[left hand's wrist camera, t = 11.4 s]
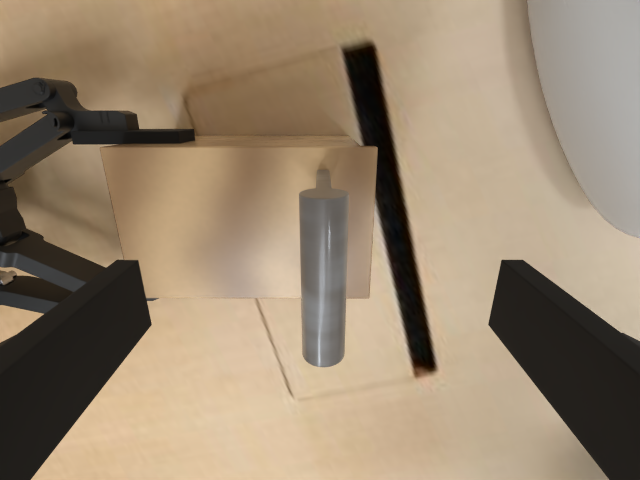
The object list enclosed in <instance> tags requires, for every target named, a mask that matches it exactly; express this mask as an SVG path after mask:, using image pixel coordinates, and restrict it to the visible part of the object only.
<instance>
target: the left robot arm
mask: <svg viewBox="0 0 640 480" xmlns="http://www.w3.org/2000/svg"><path fill="white" fill-rule="evenodd" d="M151 325H152V324H151V319H150V315H149V310H148V305H147V300H146V295H145V290H144V285H143V280H142V276H141V271H140V266H139V261H138V260H116V261H115V262H114V263H112V264H111V265H110V266H108V267H107V268H106V269H104V270H103V271H102V272H100V273H99V274H98V275H96V276H95V277H94V278H92V279H91V280H90V281H88V282H87V283H85V284H84V285H83V286H81V287H80V288H79V289H77V290H76V291H75V292H73V293H72V294H71V295H69V296H68V297H67V298H65V299H64V300H63V301H61V302H60V303H59V304H57V305H56V306H55V307H53V308H52V309H51V310H49V311H48V312H46V313H45V314H44V315H42V316H41V317H40V318H38V319H37V320H36V321H34V322H33V323H32V324H30V325H29V326H28V327H26V328H25V329H24V330H22V331H21V332H20V333H18V334H17V335H15V336H13V337H11V338H9V339H7V340H5V341H3V342H1V343H0V480H31V478H32V477H33V476H34V475H35V473H36V472H37V471H38V469H39V468H40V467H41V466H42V464H43V463H44V462H45V460H46V459H47V458H48V457H49V455H50V454H51V453H52V451H53V450H54V449H55V448H56V446H57V445H58V444H59V443H60V441H61V440H62V439H63V437H64V436H65V435H66V434H67V432H68V431H69V430H70V428H71V427H72V426H73V425H74V423H75V422H76V421H77V419H78V418H79V417H80V416H81V414H82V413H83V412H84V411H85V409H86V408H87V407H88V405H89V404H90V403H91V402H92V400H93V399H94V398H95V396H96V395H97V394H98V393H99V391H100V390H101V389H102V387H103V386H104V385H105V384H106V382H107V381H108V380H109V379H110V377H111V376H112V375H113V373H114V372H115V371H116V370H117V368H118V367H119V366H120V364H121V363H122V362H123V361H124V359H125V358H126V357H127V355H128V354H129V353H130V352H131V350H132V349H133V348H134V347H135V345H136V344H137V343H138V341H139V340H140V339H141V338H142V336H143V335H144V334H145V332H146V331H147V330H148V329H149V327H150V326H151ZM488 325H489V326H490V327H491V329H492V330H493V331H494V332H495V334H496V335H497V336H498V338H499V339H500V340H501V341H502V343H503V344H504V345H505V347H506V348H507V349H508V350H509V352H510V353H511V354H512V355H513V357H514V358H515V359H516V361H517V362H518V363H519V364H520V366H521V367H522V368H523V370H524V371H525V372H526V373H527V375H528V376H529V377H530V379H531V380H532V381H533V382H534V384H535V385H536V386H537V387H538V389H539V390H540V391H541V393H542V394H543V395H544V396H545V398H546V399H547V400H548V402H549V403H550V404H551V405H552V407H553V408H554V409H555V411H556V412H557V413H558V414H559V416H560V417H561V418H562V419H563V421H564V422H565V423H566V425H567V426H568V427H569V428H570V430H571V431H572V432H573V434H574V435H575V436H576V437H577V439H578V440H579V441H580V443H581V444H582V445H583V446H584V448H585V449H586V450H587V451H588V453H589V454H590V455H591V457H592V458H593V459H594V460H595V462H596V463H597V464H598V466H599V467H600V468H601V469H602V471H603V472H604V473H605V475H606V476H607V477H608V478H609V480H640V341H638V340H636V339H634V338H632V337H630V336H628V335H626V334H624V333H620V332H619V331H618V330H616V329H615V328H614V327H612V326H611V325H610V324H608V323H607V322H606V321H604V320H603V319H602V318H600V317H599V316H598V315H596V314H595V313H594V312H592V311H591V310H589V309H588V308H587V307H585V306H584V305H583V304H581V303H580V302H579V301H577V300H576V299H575V298H573V297H572V296H571V295H569V294H568V293H567V292H565V291H564V290H563V289H561V288H560V287H559V286H557V285H556V284H555V283H553V282H552V281H550V280H549V279H548V278H546V277H545V276H544V275H542V274H541V273H540V272H538V271H537V270H536V269H534V268H533V267H532V266H530V265H529V264H528V263H526V262H525V261H524V260H502V261H501V266H500V271H499V276H498V280H497V285H496V290H495V295H494V300H493V305H492V310H491V314H490V319H489V324H488Z"/></svg>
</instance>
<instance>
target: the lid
mask: <svg viewBox="0 0 640 480" xmlns="http://www.w3.org/2000/svg"><path fill="white" fill-rule="evenodd" d="M100 151H101V156H102V160H103V165H104V170H105V174H106V179H107V184H108V188H109V193H110V197H111V202H112V207H113V211H114V216H115V220H116V225H117V230H118V234H119V239H120V243H121V248H122V253H123V257H124V260H138V261H139V266H140V271H141V276H142V280H143V285H144V290H145V295H146V298H301V310H302V354H303V357H304V359H305V360H306V361H307V362H308V363H309V364H311V365H314V366H317V367H330V366H333V365H336V364H338V363H339V362H340V361H341V360H342V359H343V357H344V350H345V316H346V298H369V293H370V275H371V257H372V240H373V222H374V204H375V186H376V169H377V151H378V148H377V147H376V146H106V147H100Z"/></svg>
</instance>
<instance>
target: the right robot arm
mask: <svg viewBox="0 0 640 480" xmlns="http://www.w3.org/2000/svg"><path fill="white" fill-rule="evenodd" d="M76 97H77V90H76V88H75V86H74V85H73V84H72V83H70V82H68V81H61V80H53V79H44V78H32V79H29V80H25V81H22V82H19V83H16V84H12V85H9V86H6V87H2V88H0V122H3V121H6V120H9V119H13V118H16V117H20V116H23V115H26V114H30V113H33V112H37V111H40V110H43V109H47V110H48V111H43V112H42V113H43V114H47V115H46V116H45V117H43V118H42V119H40V120H39V121H37V122H36V123H34V124H33V125H31V126H30V127H28V128H27V129H25V130H24V131H22V132H21V133H19V134H18V135H16V136H15V137H13V138H12V139H10V140H9V141H7V142H6V143H4V144H3V145H1V146H0V267H15V268H17V269H20V270H22V271H25V272H27V273H29V274H32V275H34V276H37V277H39V278H36V277H31V276H17V274H16V272H15V271H9V272H6V271H0V305H6V306H10V307H15V308H20V309H25V310H30V311H34V312H39V313H44V314H45V313H46V312H48V311H49V310H51V309H52V308H53V307H55V306H56V305H57V304H59V303H60V302H61V301H63V300H64V299H65V298H67V297H68V296H69V295H71V294H72V293H73V292H75V291H76V290H77V289H79V288H80V287H81V286H83V285H84V284H85V283H87V282H88V281H90V280H91V279H92V278H94V277H95V276H96V275H98V274H99V273H100V272H102V271H103V270H104V269H106V268H105V267H103V266H101V265H98V264H96V263H94V262H91V261H89V260H87V259H85V258H82V257H80V256H78V255H75V254H73V253H71V252H69V251H66V250H64V249H62V248H59V247H57V246H55V245H52V244H50V243H48V242H46V241H44V240H43V238H44V237H43V236H42V235H40V234H38V233H35V232H33V231H31V230H28V229H26V227H25V223H24V220H23V218H22V216H21V214H20V213H19V211H18V209H17V200H16V195H15V192H14V188H13V187H8V185H7V184H9V183H11V182H12V181H14V180H15V179H17V178H18V177H20V176H22V175H23V174H24V171H25V170H27V169H29V168H30V167H32V166H33V165H35V164H36V163H38V162H40V161H41V160H43V159H44V158H46V157H47V156H49V155H50V154H52V153H54V152H55V151H57V150H58V149H60V148H61V147H63V146H65V145H66V144H68V143H69V142H71V141H73V144H181V143H186V142H190V141H194V140H195V134H194V129H139V125H138V120H137V114H135V113H132V112H130V111H89V110H87V109H85V108H83V107H82V106H81V105H80V103H79V102H78V100H77V98H76ZM156 299H159V298H146V300H147V301H153V300H156Z"/></svg>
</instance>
